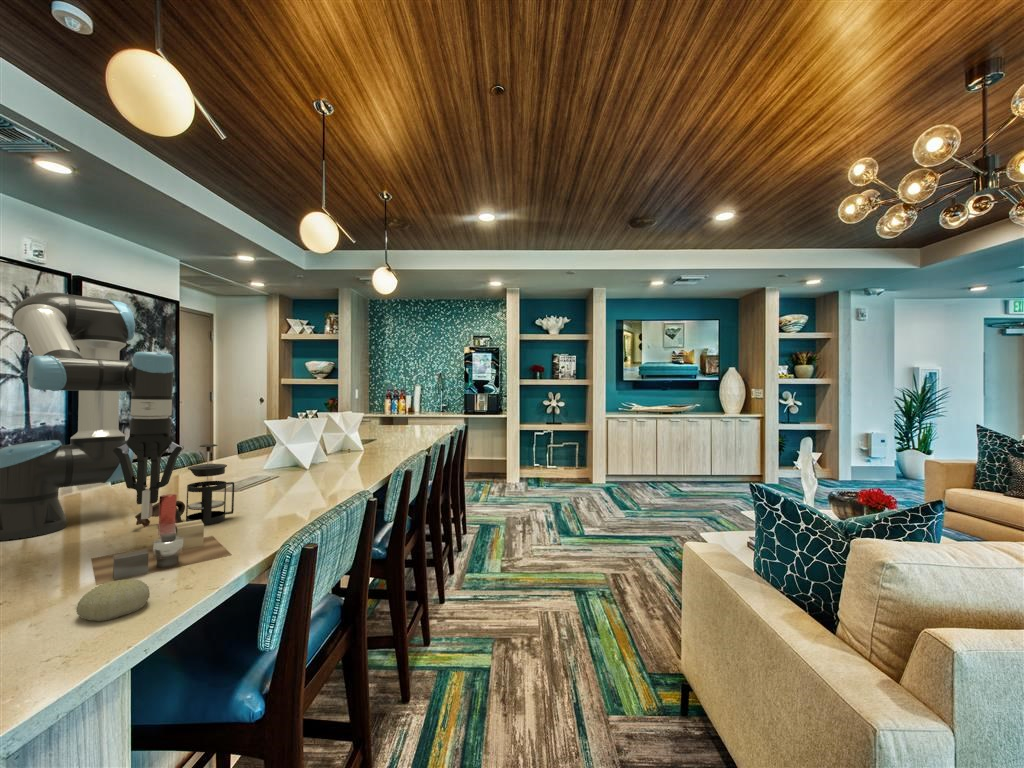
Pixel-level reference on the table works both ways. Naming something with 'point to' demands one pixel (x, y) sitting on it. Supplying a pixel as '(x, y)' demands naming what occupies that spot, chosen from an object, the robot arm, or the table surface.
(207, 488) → the french press
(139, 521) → the broken mug
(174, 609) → the table surface
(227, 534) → the table surface
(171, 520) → the lever
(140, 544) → the table surface
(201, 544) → the block
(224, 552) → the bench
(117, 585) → the olive grey stone
